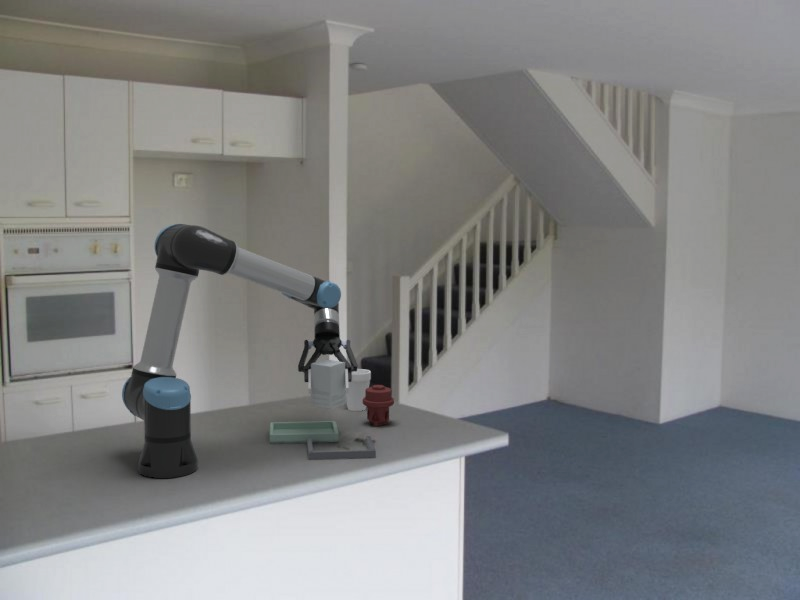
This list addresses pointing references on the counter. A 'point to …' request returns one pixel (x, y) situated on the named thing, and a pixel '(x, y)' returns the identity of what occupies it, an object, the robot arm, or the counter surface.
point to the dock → (342, 452)
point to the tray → (303, 432)
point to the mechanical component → (378, 404)
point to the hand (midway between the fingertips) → (328, 390)
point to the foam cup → (358, 389)
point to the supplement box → (328, 384)
